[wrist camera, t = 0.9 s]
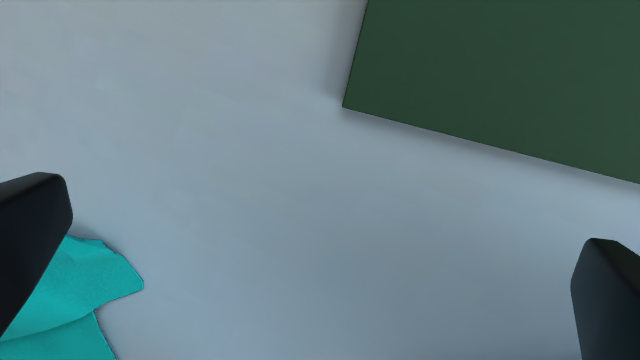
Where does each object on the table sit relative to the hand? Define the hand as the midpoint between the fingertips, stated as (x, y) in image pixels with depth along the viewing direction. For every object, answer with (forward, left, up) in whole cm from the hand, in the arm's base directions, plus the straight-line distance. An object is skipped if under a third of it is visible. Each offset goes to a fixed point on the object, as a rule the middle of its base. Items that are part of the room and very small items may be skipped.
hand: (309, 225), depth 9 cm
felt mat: (+3, -7, -14) cm, 17 cm away
